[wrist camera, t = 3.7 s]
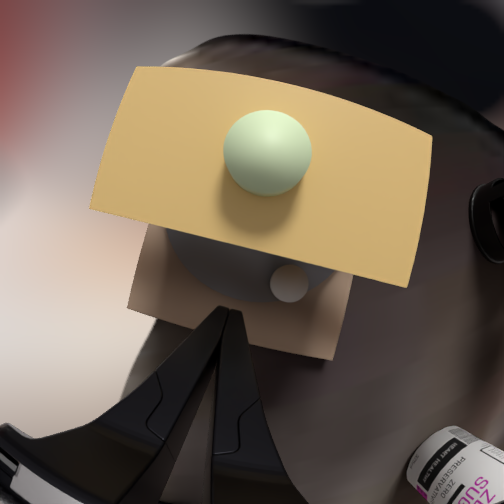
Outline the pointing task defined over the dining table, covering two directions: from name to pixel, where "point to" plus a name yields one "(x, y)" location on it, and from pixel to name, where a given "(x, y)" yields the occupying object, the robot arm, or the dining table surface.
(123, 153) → the yellow boxy piece
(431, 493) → the supplement can
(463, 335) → the dining table surface
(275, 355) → the dining table surface
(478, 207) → the french press
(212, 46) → the dining table surface
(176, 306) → the level base
